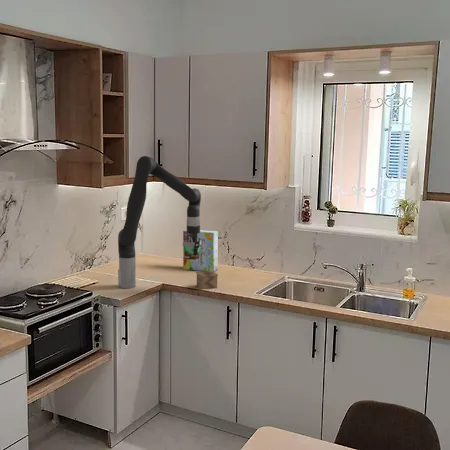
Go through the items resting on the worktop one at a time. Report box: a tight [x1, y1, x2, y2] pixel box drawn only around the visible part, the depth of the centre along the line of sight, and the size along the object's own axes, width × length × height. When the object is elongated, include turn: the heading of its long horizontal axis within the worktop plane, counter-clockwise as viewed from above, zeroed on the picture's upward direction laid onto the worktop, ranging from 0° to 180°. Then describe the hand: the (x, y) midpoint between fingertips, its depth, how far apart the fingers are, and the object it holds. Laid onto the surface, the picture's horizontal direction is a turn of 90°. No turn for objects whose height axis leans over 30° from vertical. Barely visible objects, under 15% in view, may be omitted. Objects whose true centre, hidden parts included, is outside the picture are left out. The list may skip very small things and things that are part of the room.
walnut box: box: [195, 271, 219, 290], centre depth 325 cm, size 10×10×8 cm
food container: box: [182, 240, 201, 260], centre depth 318 cm, size 12×6×10 cm, turn 136°
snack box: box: [182, 229, 219, 272], centre depth 367 cm, size 22×9×26 cm, turn 70°
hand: (193, 254), depth 318 cm, fingers closed on food container, 6 cm apart
